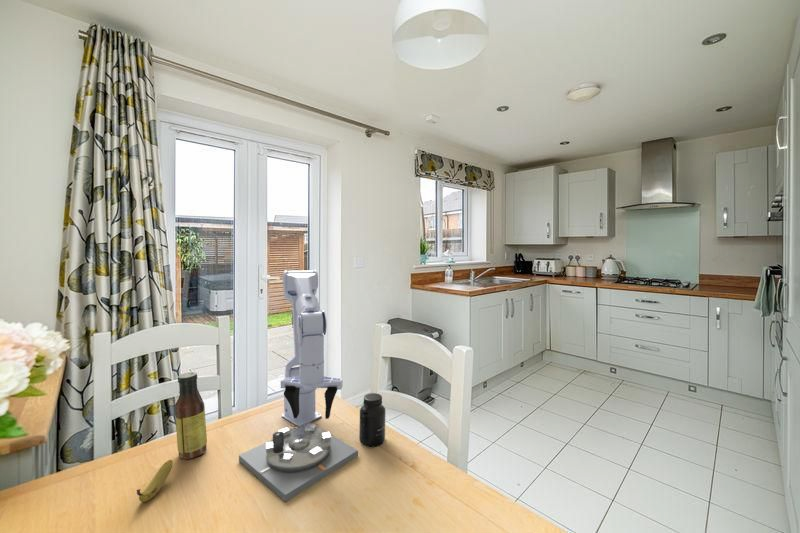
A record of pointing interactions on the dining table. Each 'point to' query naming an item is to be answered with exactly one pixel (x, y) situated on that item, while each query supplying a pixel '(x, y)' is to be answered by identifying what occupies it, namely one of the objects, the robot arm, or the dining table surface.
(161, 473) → the banana
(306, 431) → the grey turntable disc
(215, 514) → the dining table surface
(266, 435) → the dining table surface
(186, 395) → the sauce bottle
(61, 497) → the dining table surface
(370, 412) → the supplement bottle
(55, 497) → the dining table surface
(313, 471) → the boss plate
